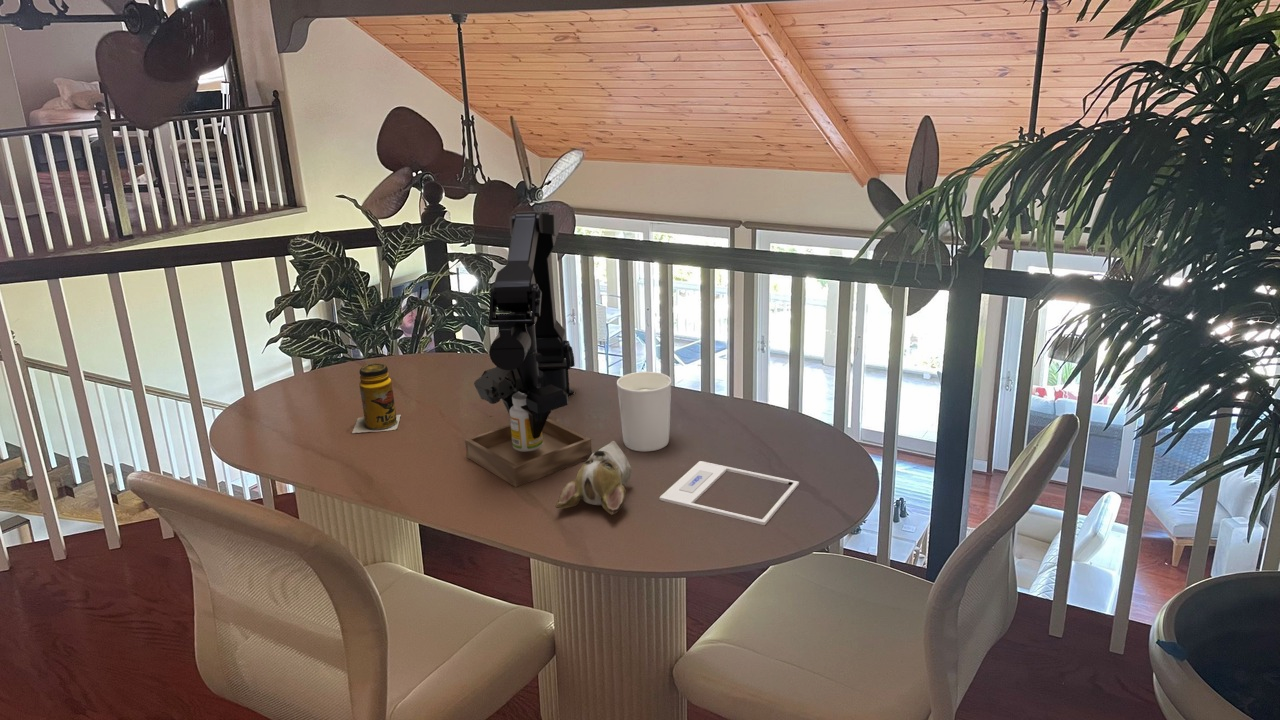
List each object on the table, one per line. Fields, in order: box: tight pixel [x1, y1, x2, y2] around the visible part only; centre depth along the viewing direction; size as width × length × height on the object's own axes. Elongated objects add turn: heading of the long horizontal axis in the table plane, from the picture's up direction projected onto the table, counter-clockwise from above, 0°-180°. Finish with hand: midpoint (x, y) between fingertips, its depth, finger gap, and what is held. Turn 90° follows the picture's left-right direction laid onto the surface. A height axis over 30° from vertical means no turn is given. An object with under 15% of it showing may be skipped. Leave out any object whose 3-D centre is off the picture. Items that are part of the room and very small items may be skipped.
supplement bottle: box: [509, 393, 543, 452], centre depth 157 cm, size 5×5×10 cm
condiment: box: [351, 363, 401, 434], centre depth 174 cm, size 7×8×12 cm
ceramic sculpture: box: [554, 440, 632, 516], centre depth 142 cm, size 11×9×15 cm
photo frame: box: [659, 460, 800, 526], centre depth 144 cm, size 15×1×18 cm
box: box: [464, 417, 593, 488], centre depth 159 cm, size 16×16×4 cm
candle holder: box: [616, 371, 673, 452], centre depth 162 cm, size 10×10×12 cm
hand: (527, 433), depth 158 cm, fingers closed on supplement bottle, 5 cm apart
